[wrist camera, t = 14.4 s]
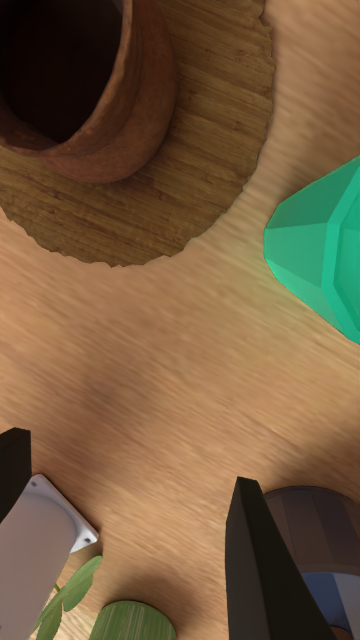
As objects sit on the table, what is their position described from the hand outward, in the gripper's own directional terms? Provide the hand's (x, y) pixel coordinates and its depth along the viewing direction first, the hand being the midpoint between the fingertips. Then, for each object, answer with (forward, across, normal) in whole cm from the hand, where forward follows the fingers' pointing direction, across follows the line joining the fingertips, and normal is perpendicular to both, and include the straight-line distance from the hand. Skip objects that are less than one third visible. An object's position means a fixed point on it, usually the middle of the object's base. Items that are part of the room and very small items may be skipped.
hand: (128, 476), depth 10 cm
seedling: (+11, +7, +22) cm, 26 cm away
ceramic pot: (+10, +6, -14) cm, 18 cm away
